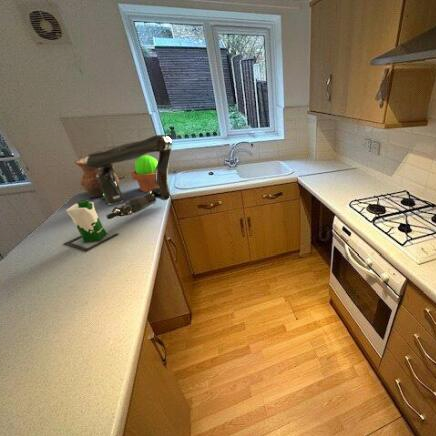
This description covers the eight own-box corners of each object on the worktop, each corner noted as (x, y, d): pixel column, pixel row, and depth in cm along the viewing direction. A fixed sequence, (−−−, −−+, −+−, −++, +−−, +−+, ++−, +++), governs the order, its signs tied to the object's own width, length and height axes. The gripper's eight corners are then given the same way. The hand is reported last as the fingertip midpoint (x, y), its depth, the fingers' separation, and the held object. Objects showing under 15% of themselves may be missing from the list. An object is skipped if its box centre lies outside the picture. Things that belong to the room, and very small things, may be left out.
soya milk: (101, 241, 118) (82, 205, 108) (80, 243, 116) (60, 207, 107) (109, 232, 125) (93, 197, 116) (90, 234, 124) (72, 199, 114)
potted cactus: (174, 182, 191) (165, 150, 179) (162, 192, 172) (151, 158, 160) (146, 183, 191) (136, 151, 178) (131, 194, 171) (118, 159, 159)
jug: (87, 200, 162) (70, 164, 150) (85, 192, 176) (69, 158, 164) (125, 192, 175) (111, 158, 163) (119, 184, 189) (107, 153, 177)
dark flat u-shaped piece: (64, 244, 117) (64, 243, 116) (97, 228, 129) (97, 228, 129) (85, 251, 111) (85, 251, 110) (118, 234, 123) (117, 234, 123)
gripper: (127, 196, 139) (96, 209, 126) (143, 199, 135) (112, 213, 121) (132, 208, 143) (102, 221, 129) (147, 211, 138) (118, 226, 124)
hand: (107, 217), depth 125 cm, fingers closed
